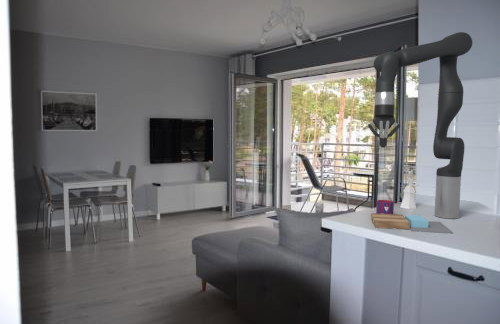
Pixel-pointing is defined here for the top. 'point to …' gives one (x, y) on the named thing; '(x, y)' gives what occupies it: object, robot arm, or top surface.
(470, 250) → the top surface
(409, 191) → the figurine
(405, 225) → the deck
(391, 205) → the mug
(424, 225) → the light blue block
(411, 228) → the mat
